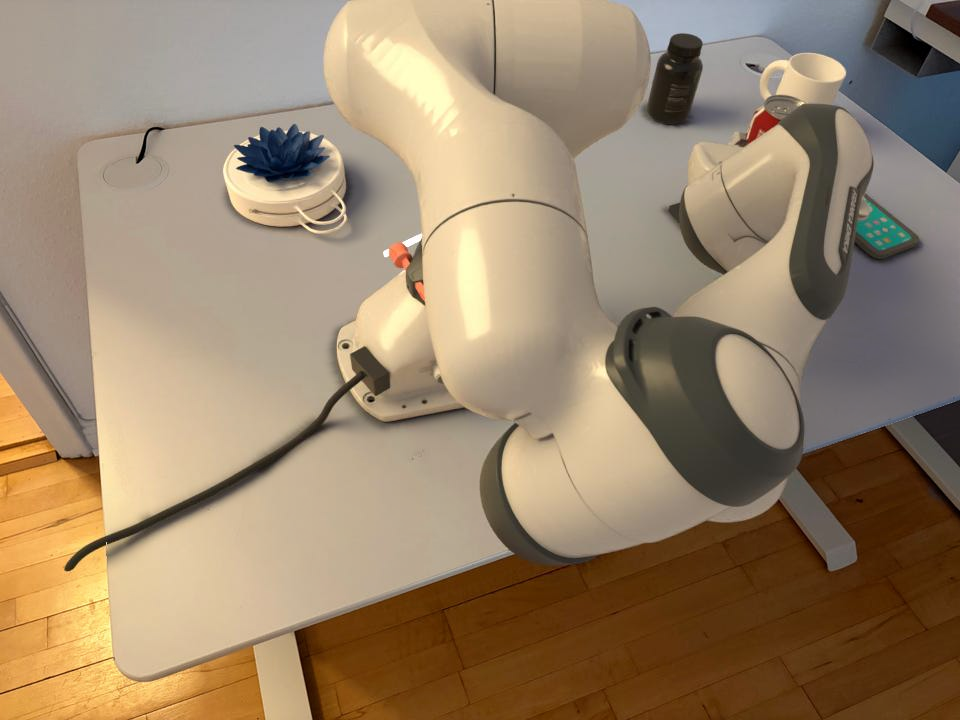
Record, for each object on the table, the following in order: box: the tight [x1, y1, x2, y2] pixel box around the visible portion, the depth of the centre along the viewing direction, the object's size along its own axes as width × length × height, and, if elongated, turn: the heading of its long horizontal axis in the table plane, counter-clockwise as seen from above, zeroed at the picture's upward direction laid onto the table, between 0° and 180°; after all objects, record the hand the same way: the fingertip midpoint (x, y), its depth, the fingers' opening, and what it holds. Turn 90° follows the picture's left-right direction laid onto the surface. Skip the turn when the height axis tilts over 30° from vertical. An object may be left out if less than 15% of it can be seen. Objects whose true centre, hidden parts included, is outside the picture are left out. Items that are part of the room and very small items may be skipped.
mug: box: [759, 52, 847, 105], centre depth 111 cm, size 12×8×10 cm
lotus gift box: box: [222, 123, 348, 235], centre depth 95 cm, size 7×16×20 cm
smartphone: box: [854, 193, 920, 260], centre depth 100 cm, size 9×1×15 cm
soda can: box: [744, 94, 806, 146], centre depth 91 cm, size 7×7×12 cm
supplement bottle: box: [646, 32, 704, 125], centre depth 110 cm, size 7×7×12 cm
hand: (770, 141), depth 91 cm, fingers closed on soda can, 6 cm apart
